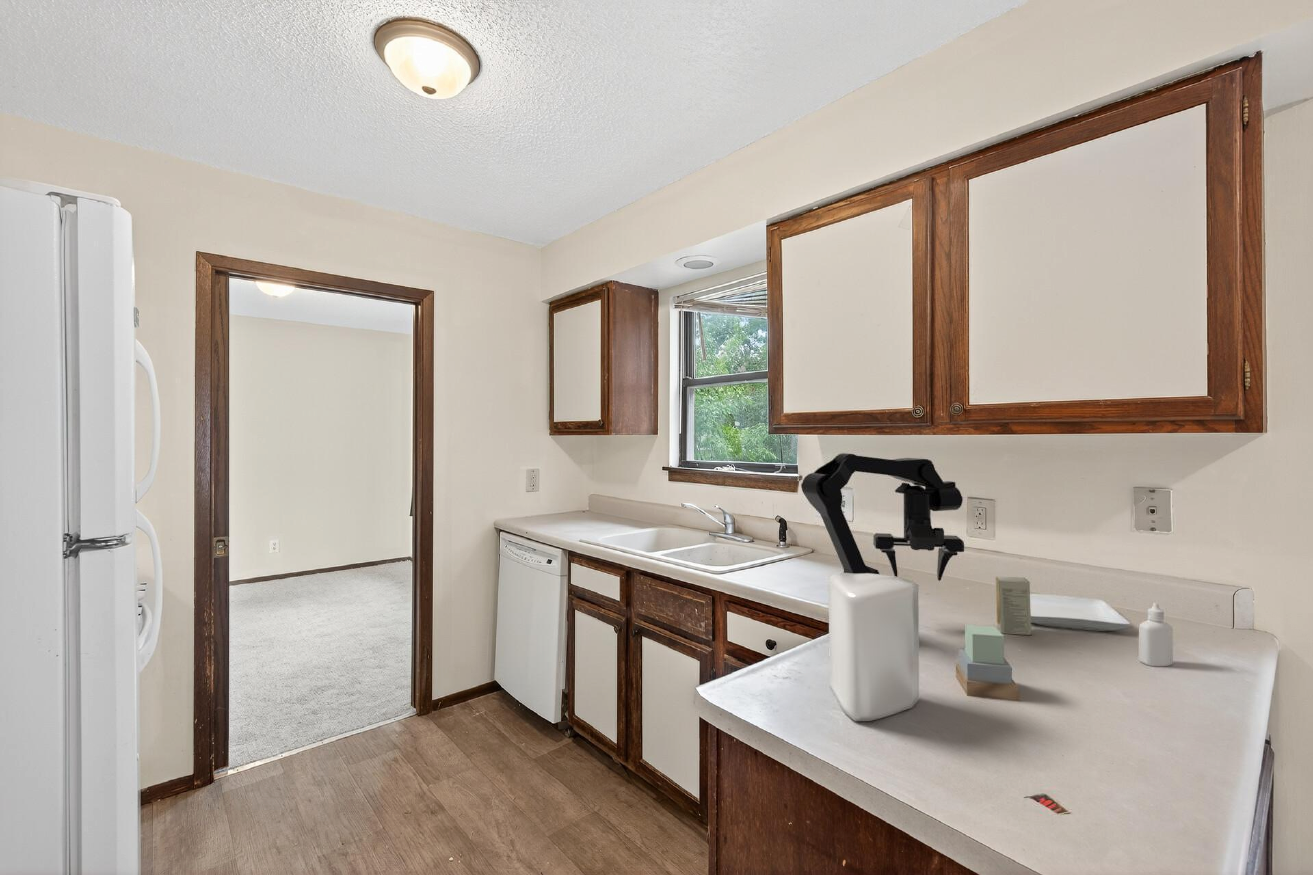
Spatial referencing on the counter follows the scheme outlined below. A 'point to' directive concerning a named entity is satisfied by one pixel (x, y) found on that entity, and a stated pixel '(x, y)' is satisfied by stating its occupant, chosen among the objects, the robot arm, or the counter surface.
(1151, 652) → the eye dropper bottle
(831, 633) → the white triangular prism
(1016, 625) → the skincare box
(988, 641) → the stack block
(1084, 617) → the salad plate
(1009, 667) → the blue-grey square block
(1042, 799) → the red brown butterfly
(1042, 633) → the counter surface
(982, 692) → the tower base
